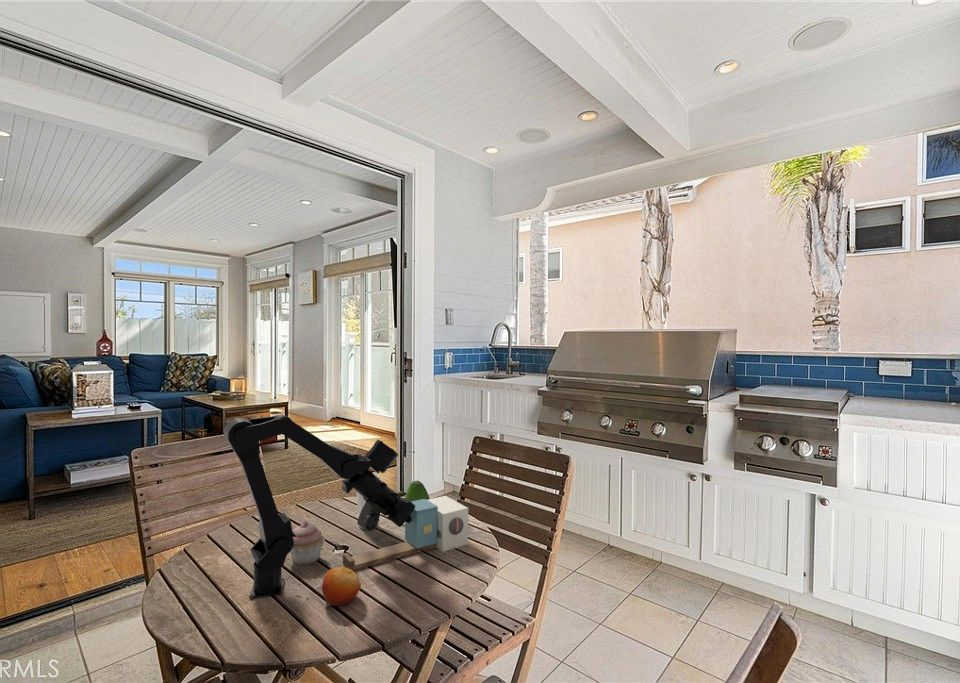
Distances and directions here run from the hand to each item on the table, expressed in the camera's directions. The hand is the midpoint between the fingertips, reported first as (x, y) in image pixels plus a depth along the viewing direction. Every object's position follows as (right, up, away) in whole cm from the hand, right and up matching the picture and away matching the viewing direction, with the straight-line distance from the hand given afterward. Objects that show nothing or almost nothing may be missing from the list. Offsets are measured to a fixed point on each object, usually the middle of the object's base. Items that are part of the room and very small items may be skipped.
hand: (409, 521), depth 127 cm
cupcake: (-26, -8, -6) cm, 27 cm away
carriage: (+3, -6, +2) cm, 7 cm away
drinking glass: (-15, -8, +16) cm, 23 cm away
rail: (-4, -8, -3) cm, 9 cm away
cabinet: (+9, -8, +6) cm, 13 cm away
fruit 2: (-1, -8, +22) cm, 23 cm away
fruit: (-11, -8, -25) cm, 28 cm away
